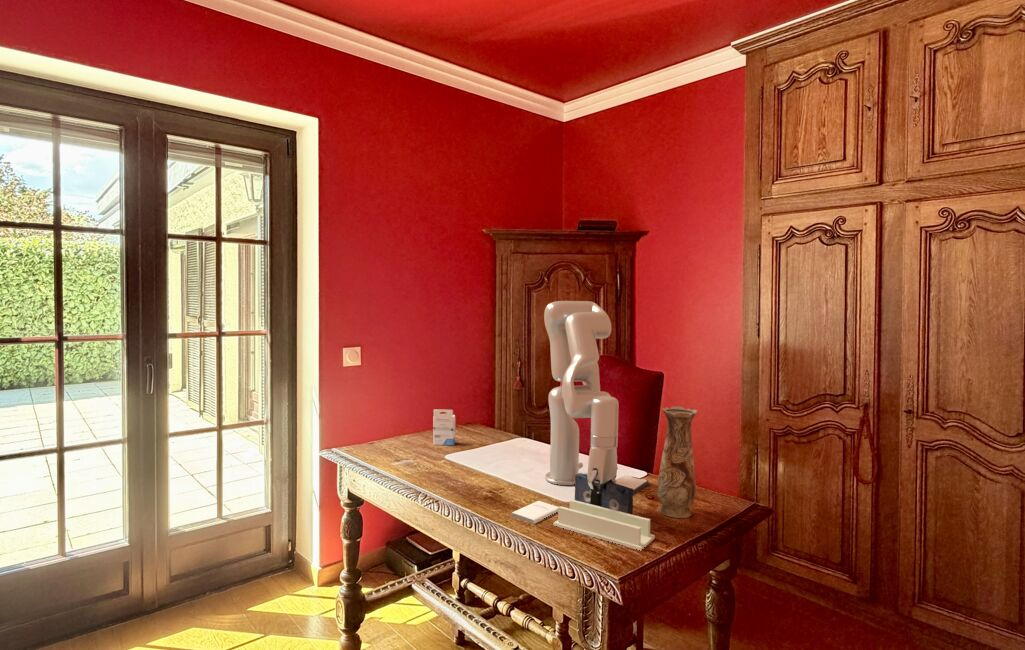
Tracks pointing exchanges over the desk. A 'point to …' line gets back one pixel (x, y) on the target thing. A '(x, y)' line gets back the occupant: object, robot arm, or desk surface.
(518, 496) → the desk surface
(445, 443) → the ink box
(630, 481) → the phone case
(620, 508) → the vhs cassette tape
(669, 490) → the vase
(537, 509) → the external hard drive
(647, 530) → the rack
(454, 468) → the desk surface
